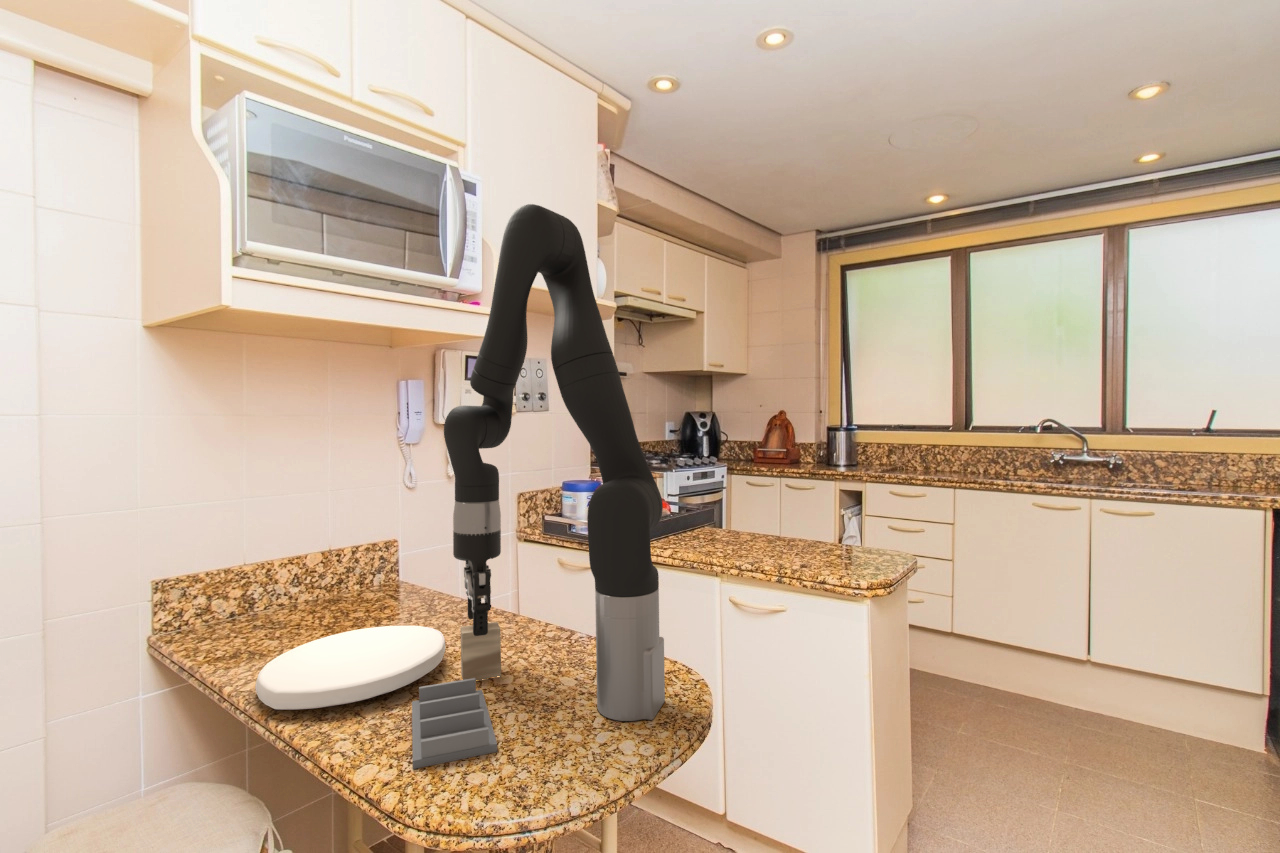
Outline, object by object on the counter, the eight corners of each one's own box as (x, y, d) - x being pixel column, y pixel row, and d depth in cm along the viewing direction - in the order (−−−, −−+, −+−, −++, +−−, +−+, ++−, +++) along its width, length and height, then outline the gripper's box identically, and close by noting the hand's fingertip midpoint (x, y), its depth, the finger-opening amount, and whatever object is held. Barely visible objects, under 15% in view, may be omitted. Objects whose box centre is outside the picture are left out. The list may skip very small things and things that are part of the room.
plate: (239, 703, 81) (265, 640, 105) (246, 750, 82) (271, 677, 106) (453, 644, 93) (433, 600, 117) (459, 686, 94) (437, 633, 118)
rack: (497, 751, 77) (496, 728, 77) (412, 769, 73) (412, 744, 73) (482, 696, 92) (481, 676, 92) (412, 708, 89) (411, 687, 89)
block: (501, 677, 99) (500, 628, 99) (463, 683, 97) (462, 633, 97) (498, 669, 103) (497, 621, 103) (461, 674, 100) (460, 626, 100)
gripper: (507, 534, 94) (507, 638, 95) (494, 519, 108) (494, 610, 108) (456, 537, 92) (457, 644, 92) (450, 522, 105) (450, 615, 105)
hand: (477, 626), depth 100 cm, fingers open, 8 cm apart
